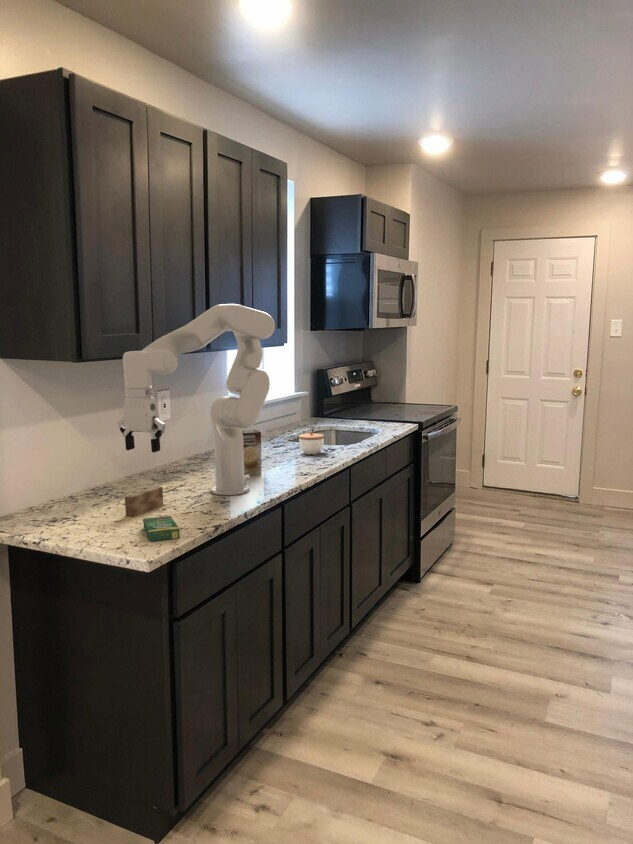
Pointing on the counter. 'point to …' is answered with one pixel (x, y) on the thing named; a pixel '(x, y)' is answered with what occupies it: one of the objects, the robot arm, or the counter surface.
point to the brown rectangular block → (143, 501)
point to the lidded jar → (311, 442)
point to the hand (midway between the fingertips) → (143, 450)
